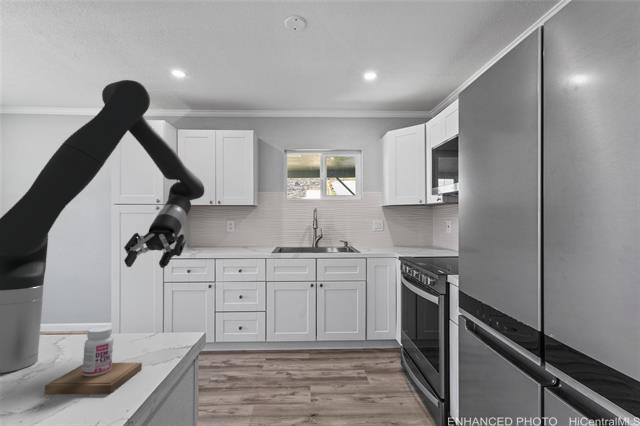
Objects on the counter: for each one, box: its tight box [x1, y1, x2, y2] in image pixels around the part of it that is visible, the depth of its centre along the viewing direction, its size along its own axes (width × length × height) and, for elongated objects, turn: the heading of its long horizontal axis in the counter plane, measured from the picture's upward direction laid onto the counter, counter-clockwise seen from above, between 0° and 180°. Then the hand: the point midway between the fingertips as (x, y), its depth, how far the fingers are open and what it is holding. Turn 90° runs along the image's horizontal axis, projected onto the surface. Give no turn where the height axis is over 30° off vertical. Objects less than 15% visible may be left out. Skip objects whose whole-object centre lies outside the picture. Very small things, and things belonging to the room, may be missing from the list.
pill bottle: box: [82, 325, 114, 376], centre depth 61 cm, size 5×5×8 cm
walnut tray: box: [43, 362, 143, 395], centre depth 61 cm, size 12×10×2 cm
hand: (144, 265), depth 77 cm, fingers open, 8 cm apart
